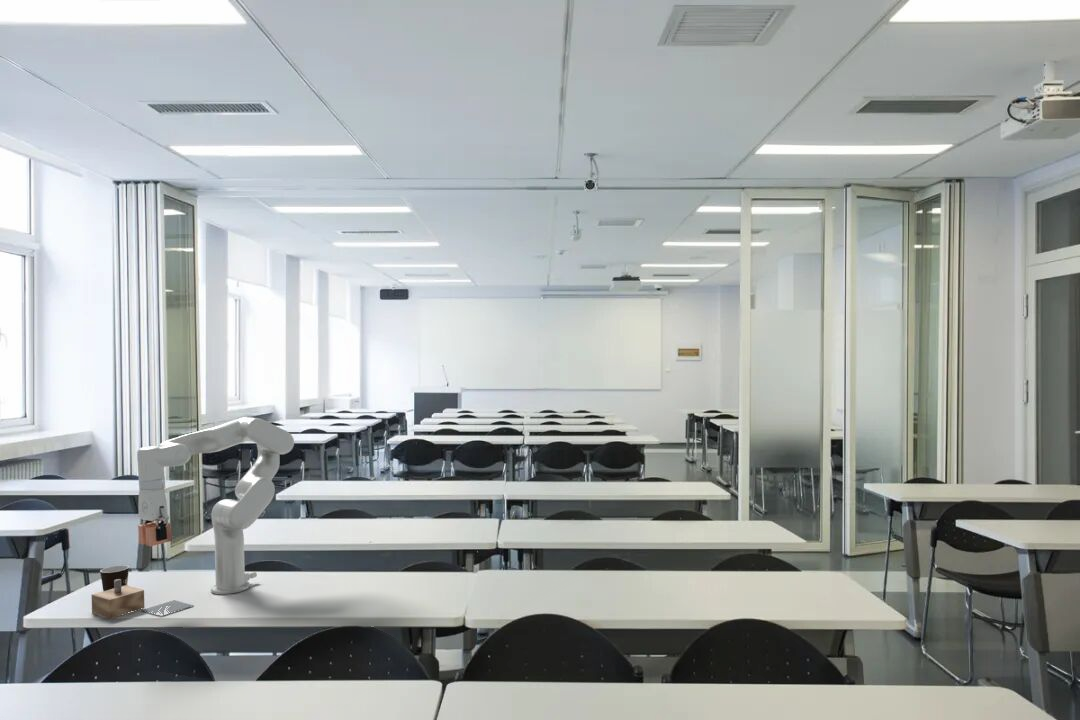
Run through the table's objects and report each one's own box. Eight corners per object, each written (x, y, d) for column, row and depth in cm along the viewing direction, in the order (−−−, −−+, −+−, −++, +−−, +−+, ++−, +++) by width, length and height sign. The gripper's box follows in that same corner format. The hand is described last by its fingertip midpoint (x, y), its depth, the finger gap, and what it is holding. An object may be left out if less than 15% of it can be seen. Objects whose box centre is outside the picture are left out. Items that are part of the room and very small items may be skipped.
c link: (160, 538, 245) (159, 520, 245) (171, 540, 241) (170, 522, 241) (139, 543, 240) (138, 525, 239) (150, 546, 236) (149, 527, 235)
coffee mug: (116, 602, 248) (115, 573, 248) (94, 601, 250) (94, 572, 250) (141, 591, 259) (141, 563, 259) (120, 590, 261) (120, 562, 261)
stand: (126, 603, 247) (125, 573, 247) (144, 608, 241) (143, 577, 241) (91, 613, 238) (91, 582, 238) (109, 618, 232) (109, 587, 232)
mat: (174, 601, 248) (174, 600, 248) (193, 606, 242) (193, 605, 242) (141, 611, 239) (141, 609, 239) (160, 616, 233) (160, 615, 233)
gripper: (126, 484, 242) (130, 538, 242) (154, 489, 232) (158, 544, 232) (149, 480, 248) (153, 532, 249) (177, 484, 238) (181, 538, 239)
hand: (155, 538), depth 240 cm, fingers closed on c link, 7 cm apart
